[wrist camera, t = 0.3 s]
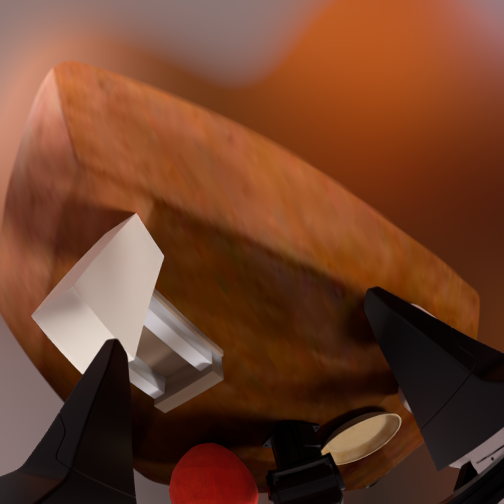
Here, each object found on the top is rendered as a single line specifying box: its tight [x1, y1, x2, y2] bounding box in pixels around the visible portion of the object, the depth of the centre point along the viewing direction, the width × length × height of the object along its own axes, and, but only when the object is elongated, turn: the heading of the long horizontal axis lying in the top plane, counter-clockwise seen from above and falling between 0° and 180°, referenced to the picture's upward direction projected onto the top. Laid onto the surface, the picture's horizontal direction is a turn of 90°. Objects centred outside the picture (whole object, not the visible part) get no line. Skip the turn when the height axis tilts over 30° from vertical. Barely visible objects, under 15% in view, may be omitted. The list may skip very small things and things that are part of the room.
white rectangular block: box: [31, 213, 164, 374], centre depth 17 cm, size 4×3×13 cm
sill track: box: [128, 288, 224, 413], centre depth 25 cm, size 10×9×4 cm
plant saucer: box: [321, 412, 401, 465], centre depth 39 cm, size 15×15×3 cm
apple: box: [169, 443, 258, 504], centre depth 29 cm, size 12×12×13 cm
